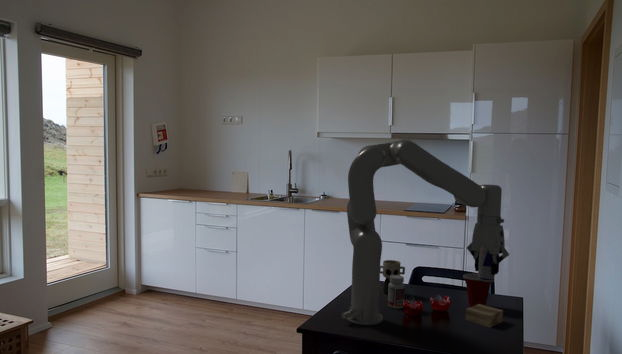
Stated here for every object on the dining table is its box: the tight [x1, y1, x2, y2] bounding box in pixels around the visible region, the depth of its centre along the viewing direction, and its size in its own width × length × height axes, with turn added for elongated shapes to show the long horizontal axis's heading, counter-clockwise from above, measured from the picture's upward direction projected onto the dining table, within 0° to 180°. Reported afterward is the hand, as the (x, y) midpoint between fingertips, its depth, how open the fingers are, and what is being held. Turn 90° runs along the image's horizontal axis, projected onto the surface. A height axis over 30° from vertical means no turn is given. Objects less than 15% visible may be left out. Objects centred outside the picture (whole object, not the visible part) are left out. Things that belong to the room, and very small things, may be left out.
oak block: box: [465, 304, 504, 328], centre depth 166 cm, size 9×9×4 cm
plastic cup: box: [462, 273, 492, 308], centre depth 182 cm, size 11×11×12 cm
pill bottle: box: [387, 274, 406, 310], centre depth 179 cm, size 6×6×11 cm
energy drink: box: [477, 247, 496, 283], centre depth 165 cm, size 5×5×12 cm
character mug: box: [380, 259, 406, 294], centre depth 196 cm, size 11×7×13 cm, turn 86°
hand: (486, 271), depth 165 cm, fingers closed on energy drink, 5 cm apart
